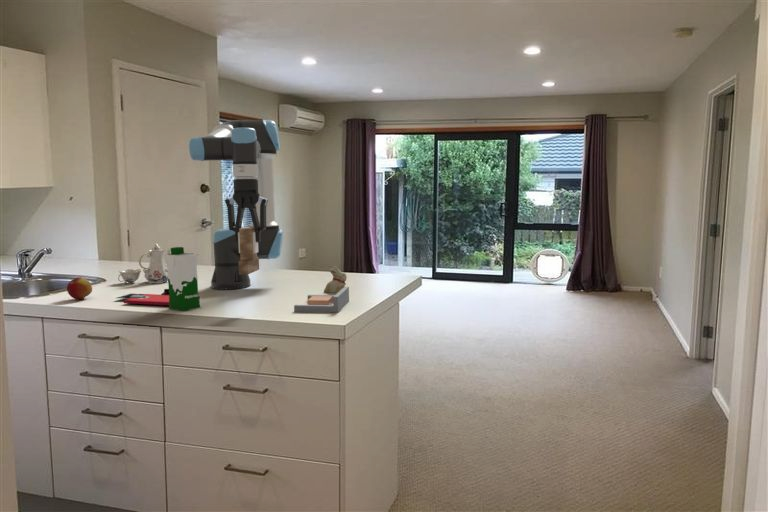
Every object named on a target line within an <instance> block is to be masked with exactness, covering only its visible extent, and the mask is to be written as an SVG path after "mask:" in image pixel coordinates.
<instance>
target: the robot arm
mask: <svg viewBox="0 0 768 512" xmlns="http://www.w3.org/2000/svg"><path fill="white" fill-rule="evenodd" d="M188 143H189V144H188V146H189V147H188V149H189V155H190V158H191V159H192V160H193V161H199V162H200V161H201V162H206V161H207V162H208V161H232V174H233V175H232V176H233V178H234V179H233V181H232V182H233V184H232V185H233V194H232V197H230V198H226V199H225V200H224V203H225V204H226V208H227V220H228V222H227V223H228V228H222V229H221V228H220V229H217V230H216V231H214V233H213V242H212V243H213V253H214V254H213V255H214V256H213V257H214V269H213V274H212V277H211V281H210V287H211V288H212V289H213V290H214V289H215V290H237V289H243V288H244V289H245V288H249V287H250V286H251V285H252V284H251V278H250V274H239V261H241V259H240V235H239V228H244V226H243V221H244V212H245V210H246V209H248V211H249V213H250V217H251V222H250V223H249V225H248V227H254V230H255V231H254V232H253V253H257V257H259V260H271V259H272V260H273V259H279V258H280V257H281V253H282V247H283V239H284V237H283V235H284V231H283V229H281V228H280V225H279V223H278V222H277V221H276V219H275V216H276V215H275V214H276V213H275V211H276V210H275V190H274V189H275V187H274V186H275V185H274V183H275V182H274V159H275V157H276V156H277V151H280V150H281V145H280V144H281V143H280V136H279V131H278V126H277V124H276V122H275V121H274V120H271V119H233V120H228V121H225V122H222V123H220V124H217V125H216V126H214V127H213V128H212V130H211V131H210V133H209V134H207V135H206V136H196V137H191V138H190V139H189V142H188ZM235 203H236V205H237V208H236V209H237V212H236V216H235V206H234V204H235ZM235 217H236V219H235Z"/></svg>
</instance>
